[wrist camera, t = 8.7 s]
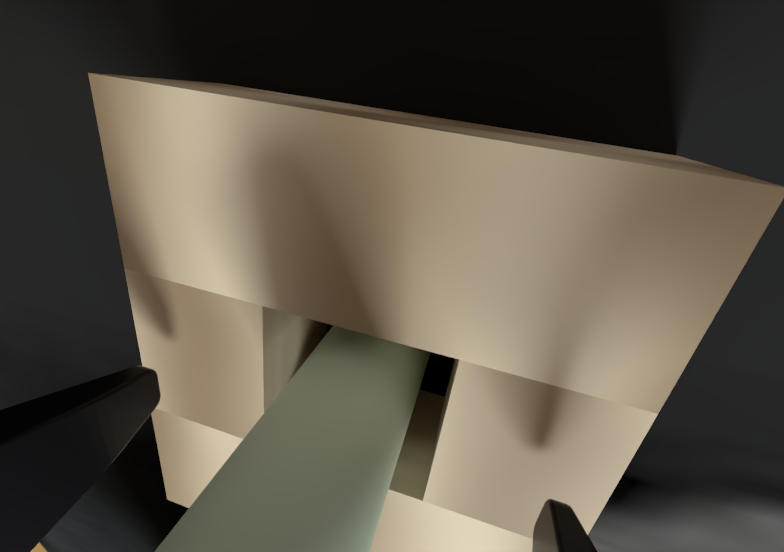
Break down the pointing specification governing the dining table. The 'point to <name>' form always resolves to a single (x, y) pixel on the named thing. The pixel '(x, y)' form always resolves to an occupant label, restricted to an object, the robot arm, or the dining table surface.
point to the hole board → (417, 287)
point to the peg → (313, 456)
